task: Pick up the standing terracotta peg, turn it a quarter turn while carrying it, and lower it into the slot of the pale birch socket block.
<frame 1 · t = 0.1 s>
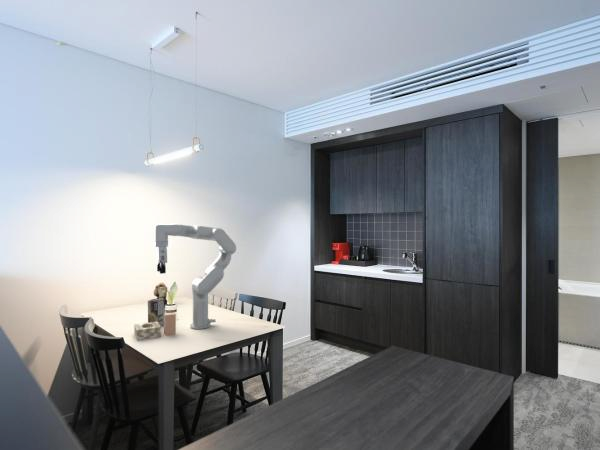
hand: (161, 272, 222), 37 cm above the table, tool pointing down, fingers open, 9 cm apart
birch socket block: (147, 334, 217), on the table
terracotta peg: (169, 333, 219), on the table
coffee box: (156, 324, 238), on the table
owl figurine: (160, 303, 298), on the table
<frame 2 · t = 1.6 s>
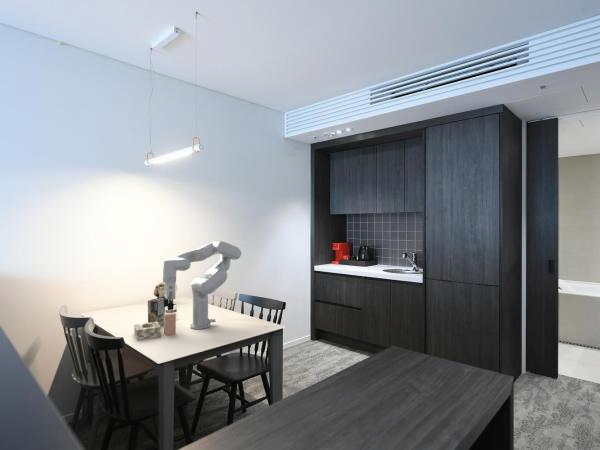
hand: (168, 308, 219), 16 cm above the table, tool pointing down, fingers open, 9 cm apart
nothing on the table moved.
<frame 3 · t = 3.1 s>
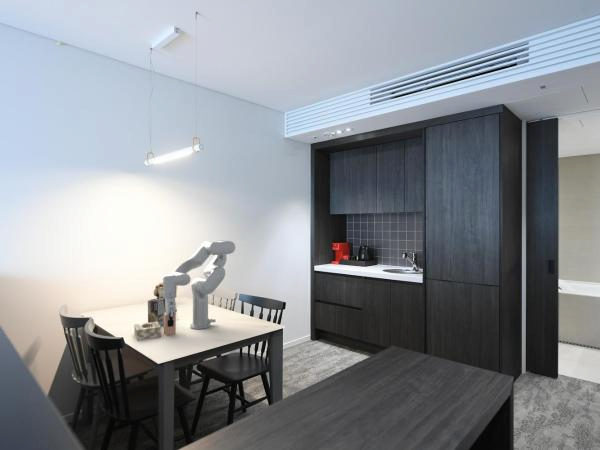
hand: (169, 324, 219), 5 cm above the table, tool pointing down, fingers closed on terracotta peg, 4 cm apart
terracotta peg: (169, 333, 219), on the table, touching gripper
everything else where it was.
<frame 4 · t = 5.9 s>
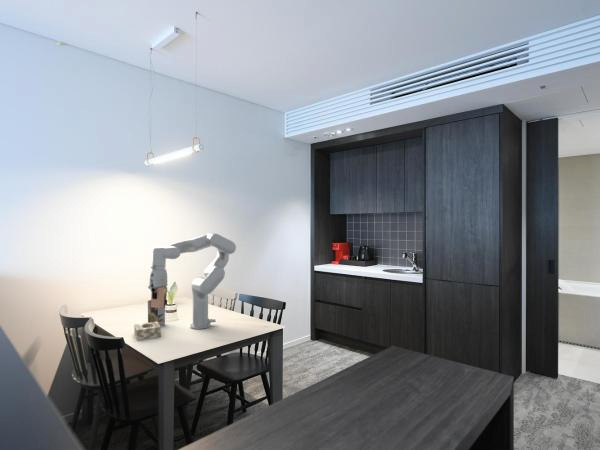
hand: (157, 297, 217), 22 cm above the table, tool pointing down, fingers closed on terracotta peg, 4 cm apart
terracotta peg: (157, 306, 217), point 17 cm above the table, touching gripper
everything else where it was.
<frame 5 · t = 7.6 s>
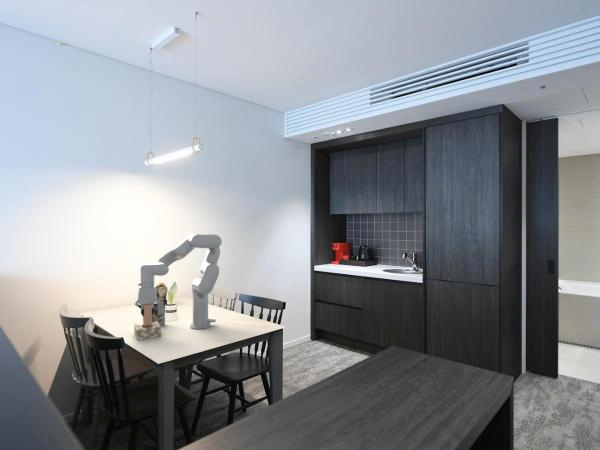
hand: (147, 314, 217), 12 cm above the table, tool pointing down, fingers closed on terracotta peg, 4 cm apart
terracotta peg: (147, 323, 217), point 7 cm above the table, touching gripper
everything else where it was.
when the fingers open (8 cm above the table, at t = 8.8 s): terracotta peg drops 1 cm, resting on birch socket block.
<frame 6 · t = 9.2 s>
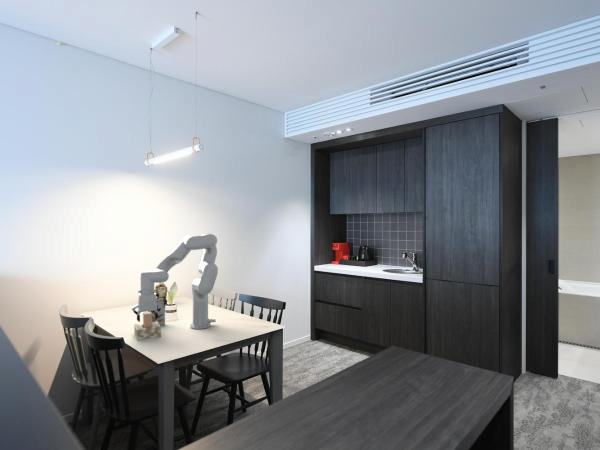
hand: (147, 320, 217), 9 cm above the table, tool pointing down, fingers open, 9 cm apart
terracotta peg: (147, 333, 217), point 1 cm above the table, touching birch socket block
everything else where it was.
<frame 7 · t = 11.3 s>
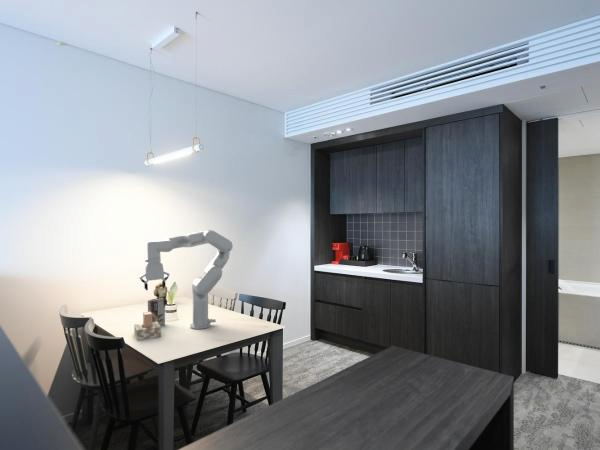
hand: (155, 288, 222), 27 cm above the table, tool pointing down, fingers open, 9 cm apart
nothing on the table moved.
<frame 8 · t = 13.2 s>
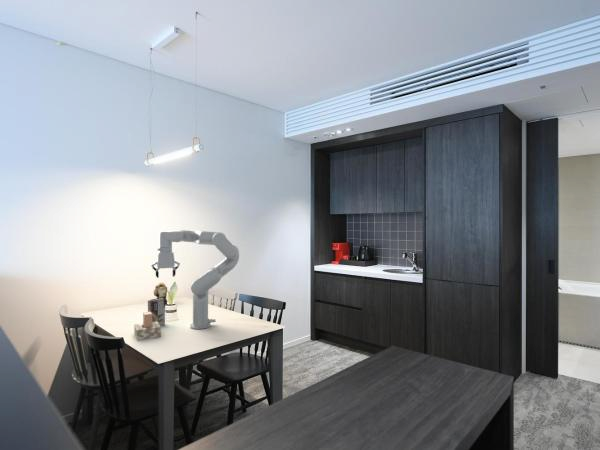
hand: (165, 277, 231), 32 cm above the table, tool pointing down, fingers open, 9 cm apart
nothing on the table moved.
at the end: terracotta peg 0.1 cm off-centre on the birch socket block, point 1.0 cm above the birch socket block's base; terracotta peg tilted 0°; the gripper is holding nothing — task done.
